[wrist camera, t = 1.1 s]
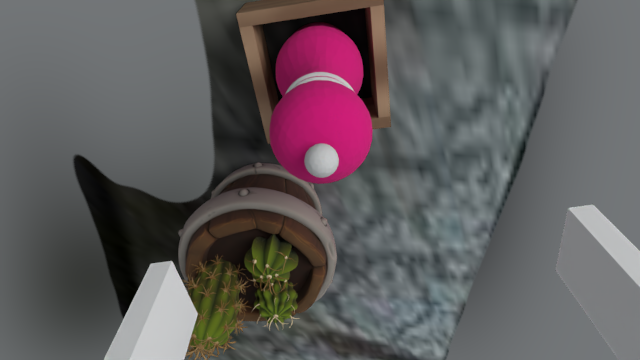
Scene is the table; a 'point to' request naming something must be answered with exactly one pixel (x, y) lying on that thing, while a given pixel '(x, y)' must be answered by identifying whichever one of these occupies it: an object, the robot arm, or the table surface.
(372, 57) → the wooden box
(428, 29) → the table surface
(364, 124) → the pepper mill
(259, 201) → the flowerpot
